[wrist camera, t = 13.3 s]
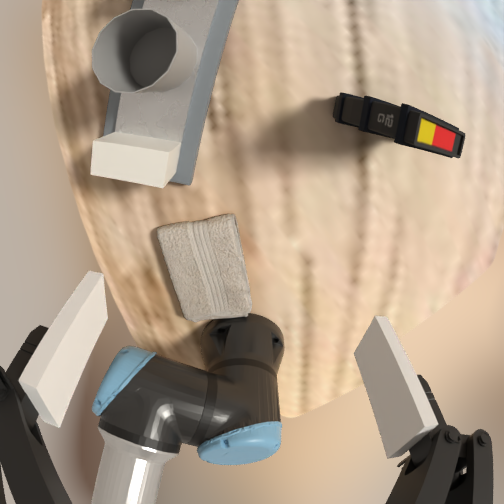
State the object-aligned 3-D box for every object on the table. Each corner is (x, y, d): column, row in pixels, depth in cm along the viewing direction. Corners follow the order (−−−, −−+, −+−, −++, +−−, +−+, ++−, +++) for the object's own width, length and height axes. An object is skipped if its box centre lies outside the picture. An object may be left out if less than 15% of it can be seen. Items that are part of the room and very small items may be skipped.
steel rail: (177, 171, 37) (175, 173, 36) (113, 159, 35) (111, 161, 35) (231, -32, 23) (230, -34, 22) (161, -37, 22) (159, -39, 21)
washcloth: (188, 315, 51) (186, 327, 49) (155, 223, 42) (150, 232, 40) (256, 307, 50) (256, 320, 48) (235, 209, 41) (234, 218, 39)
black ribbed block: (314, 87, 31) (418, 107, 20) (383, 106, 37) (472, 134, 26) (309, 116, 33) (410, 148, 22) (379, 130, 39) (465, 163, 27)
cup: (198, 88, 31) (178, 87, 22) (132, 96, 31) (94, 101, 22) (196, 23, 26) (177, 0, 18) (130, 33, 26) (92, 20, 18)
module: (175, 173, 36) (163, 188, 31) (111, 161, 35) (90, 174, 30) (181, 142, 34) (168, 152, 29) (114, 131, 33) (93, 140, 28)
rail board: (192, 181, 39) (190, 185, 38) (104, 165, 37) (100, 168, 36) (250, -34, 24) (250, -38, 22) (153, -41, 22) (150, -45, 21)
